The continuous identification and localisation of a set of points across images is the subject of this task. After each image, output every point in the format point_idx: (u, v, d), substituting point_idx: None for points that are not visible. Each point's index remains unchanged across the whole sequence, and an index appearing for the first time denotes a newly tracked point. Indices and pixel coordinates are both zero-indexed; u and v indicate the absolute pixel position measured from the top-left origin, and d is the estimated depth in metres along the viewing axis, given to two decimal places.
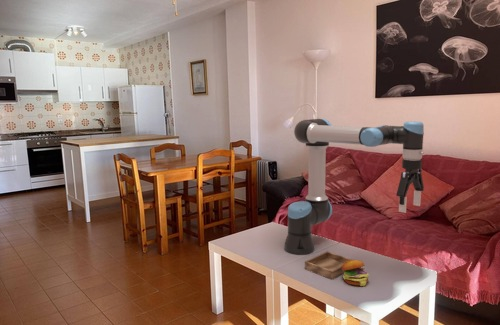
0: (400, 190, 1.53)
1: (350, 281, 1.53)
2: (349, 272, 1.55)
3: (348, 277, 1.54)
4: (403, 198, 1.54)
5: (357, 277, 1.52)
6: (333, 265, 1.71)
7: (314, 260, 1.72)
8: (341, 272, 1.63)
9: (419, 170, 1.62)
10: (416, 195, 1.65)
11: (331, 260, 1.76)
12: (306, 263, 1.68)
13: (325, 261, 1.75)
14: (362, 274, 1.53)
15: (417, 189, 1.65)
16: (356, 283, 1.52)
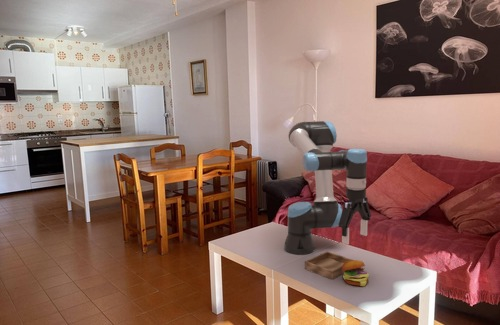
0: (342, 221, 1.47)
1: (350, 281, 1.53)
2: (349, 272, 1.55)
3: (348, 277, 1.54)
4: (345, 229, 1.48)
5: (357, 277, 1.52)
6: (333, 265, 1.71)
7: (314, 260, 1.72)
8: (341, 272, 1.63)
9: (365, 199, 1.55)
10: (363, 224, 1.58)
11: (331, 260, 1.76)
12: (306, 263, 1.68)
13: (325, 261, 1.75)
14: (362, 274, 1.53)
15: (364, 218, 1.58)
16: (356, 283, 1.52)
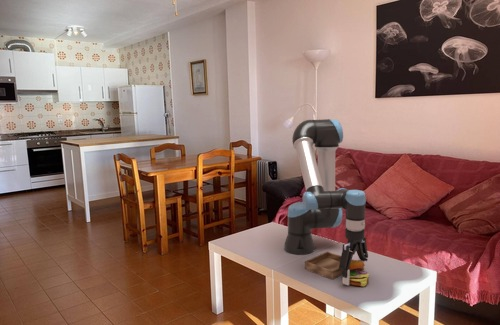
0: (342, 264, 1.50)
1: (350, 281, 1.53)
2: None
3: None
4: (346, 271, 1.51)
5: (358, 277, 1.52)
6: (333, 265, 1.71)
7: (314, 260, 1.72)
8: (341, 272, 1.63)
9: (363, 239, 1.58)
10: None
11: (331, 260, 1.76)
12: (306, 263, 1.68)
13: (325, 261, 1.75)
14: (362, 274, 1.53)
15: (361, 259, 1.60)
16: (357, 283, 1.52)
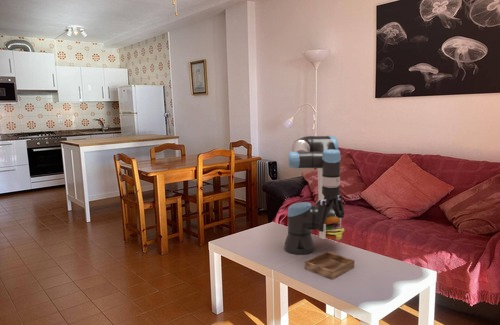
0: (318, 218, 1.60)
1: (327, 235, 1.62)
2: (326, 227, 1.64)
3: None
4: (322, 225, 1.61)
5: (333, 231, 1.61)
6: (333, 265, 1.71)
7: (314, 260, 1.72)
8: (341, 272, 1.63)
9: (340, 196, 1.68)
10: None
11: (331, 260, 1.76)
12: (306, 263, 1.68)
13: (325, 261, 1.75)
14: (338, 228, 1.63)
15: (338, 216, 1.70)
16: (332, 237, 1.61)
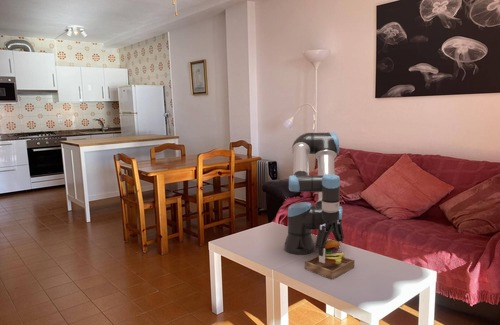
0: (318, 242, 1.61)
1: (326, 259, 1.64)
2: (325, 251, 1.66)
3: None
4: (322, 250, 1.63)
5: (333, 255, 1.63)
6: (333, 265, 1.71)
7: (314, 260, 1.72)
8: (341, 272, 1.63)
9: (339, 220, 1.69)
10: None
11: None
12: (306, 263, 1.68)
13: None
14: (337, 253, 1.64)
15: (337, 239, 1.72)
16: (332, 261, 1.63)
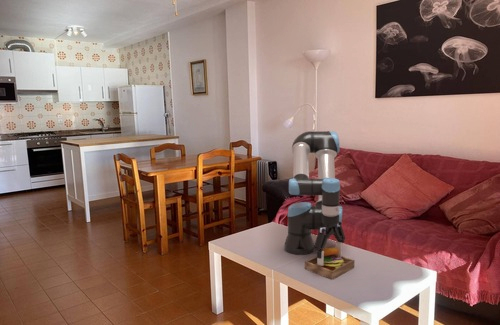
0: (317, 245, 1.61)
1: (326, 267, 1.65)
2: (325, 258, 1.67)
3: (324, 263, 1.65)
4: (320, 252, 1.62)
5: (332, 263, 1.64)
6: None
7: (314, 260, 1.72)
8: (341, 272, 1.63)
9: (339, 223, 1.70)
10: (337, 246, 1.73)
11: None
12: (306, 263, 1.68)
13: None
14: (337, 260, 1.65)
15: (338, 240, 1.73)
16: (331, 268, 1.64)
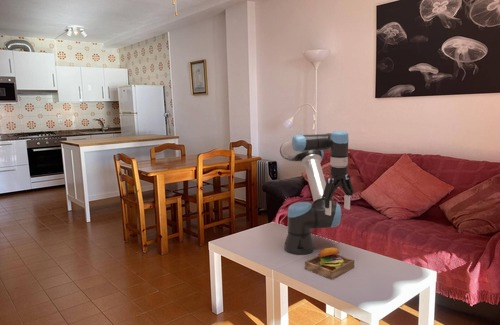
0: (324, 195, 1.66)
1: (326, 267, 1.65)
2: (325, 258, 1.67)
3: (324, 263, 1.65)
4: (328, 202, 1.67)
5: (332, 263, 1.64)
6: None
7: (314, 260, 1.72)
8: (341, 272, 1.63)
9: (347, 176, 1.74)
10: (346, 199, 1.77)
11: None
12: (306, 263, 1.68)
13: None
14: (337, 260, 1.65)
15: (347, 193, 1.77)
16: (331, 268, 1.64)
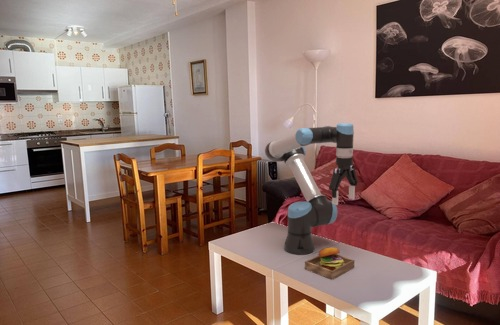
0: (332, 184, 1.71)
1: (326, 267, 1.65)
2: (325, 258, 1.67)
3: (324, 263, 1.65)
4: (335, 192, 1.72)
5: (332, 263, 1.64)
6: None
7: (314, 260, 1.72)
8: (341, 272, 1.63)
9: (352, 167, 1.80)
10: (351, 189, 1.83)
11: None
12: (306, 263, 1.68)
13: None
14: (337, 260, 1.65)
15: (351, 184, 1.83)
16: (332, 268, 1.64)
